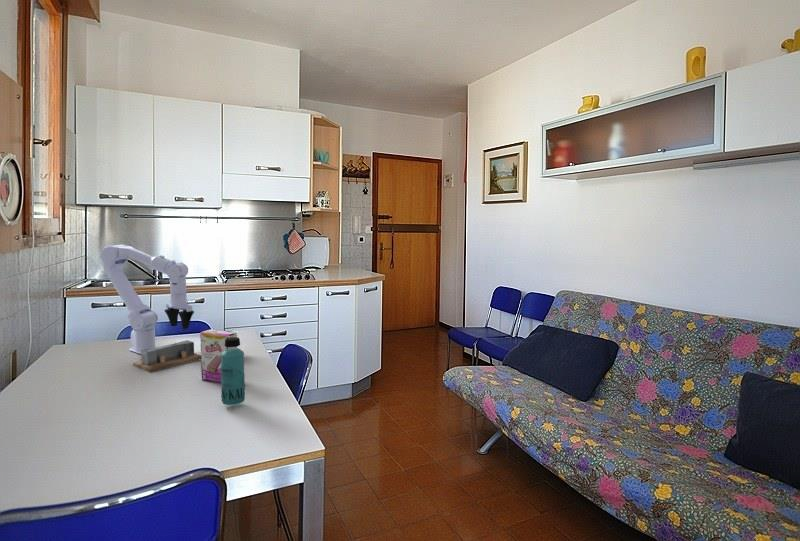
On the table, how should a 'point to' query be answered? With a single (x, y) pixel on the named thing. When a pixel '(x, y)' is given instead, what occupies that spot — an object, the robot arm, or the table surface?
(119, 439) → the table surface
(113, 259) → the robot arm
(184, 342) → the gray notched long block
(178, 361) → the peg rack
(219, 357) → the candy bar box
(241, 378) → the beverage bottle
